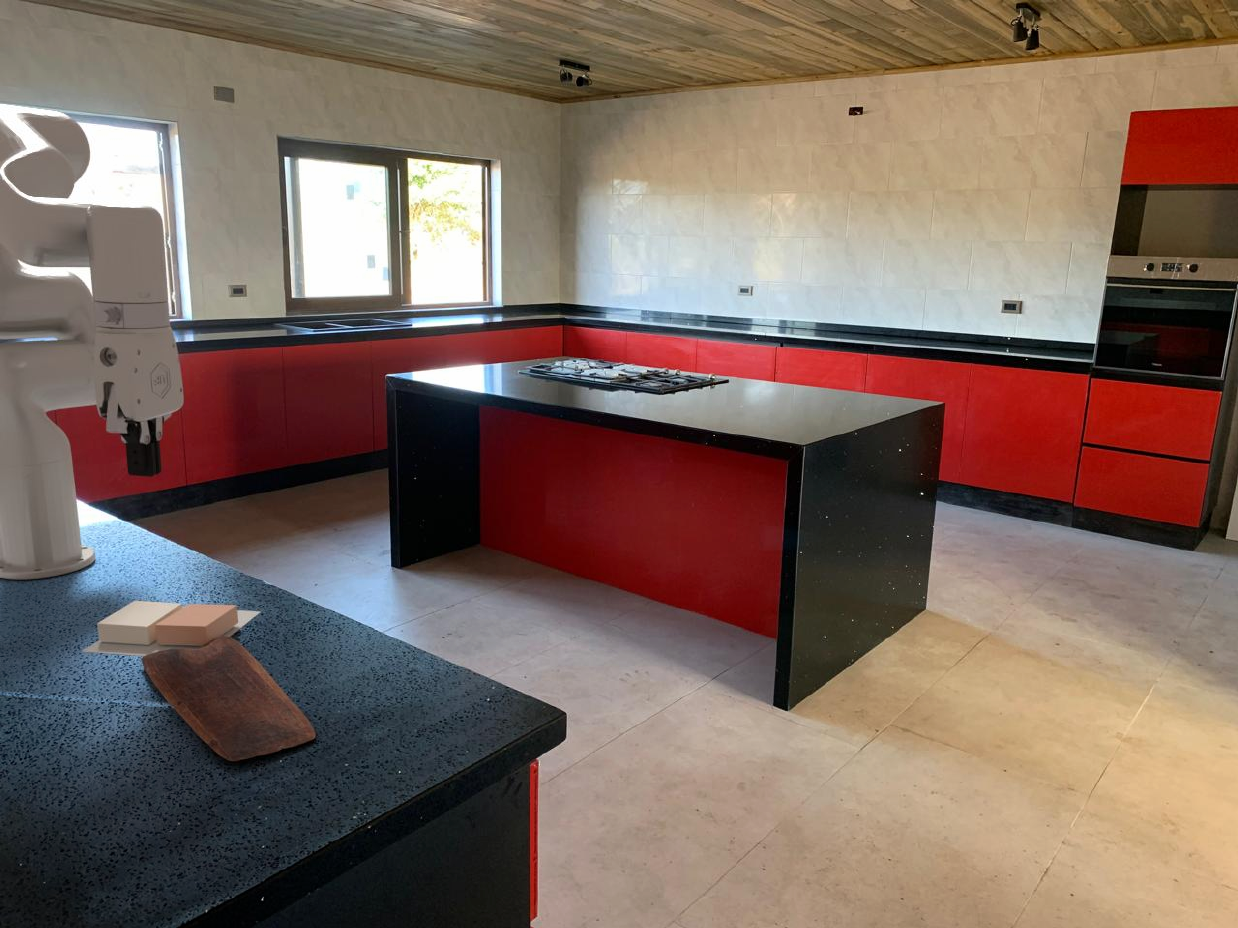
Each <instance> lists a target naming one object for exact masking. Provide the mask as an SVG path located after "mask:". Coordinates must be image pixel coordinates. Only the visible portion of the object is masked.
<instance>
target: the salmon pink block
mask: <svg viewBox="0 0 1238 928" xmlns="http://www.w3.org/2000/svg"><path fill="white" fill-rule="evenodd" d="M183 607H184V608H182V609H180V610H179V611H177V612H175V613H174V614H172V615H171V616H169V617H167V618H166V619H164V620H162V621H161V622H159V623H157V624H156V625H155V630H156V639H157V643H160V644H165V645H196V646H203V645H204V644H206V643H207V642H209V641H211V640H213V639H216V638H218V637H220V636H221V635H223V634H224V633H225V632H227V631H228V630H230V629H231V628H232V627H234V626H235V625H236V624H237V623H238V613H237V610H238V605H236V604H233V605H232V604H201V603H200V604H198V603H194V604H193V603H189V604H187V605H185V606H183Z"/></svg>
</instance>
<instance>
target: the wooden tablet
mask: <svg viewBox="0 0 1238 928" xmlns="http://www.w3.org/2000/svg"><path fill="white" fill-rule="evenodd" d="M140 661H141V663H142V666H143V668H144V670H145V672H146V674H147V675H148V677H149V679H150V680H151V682H152V683H153V685H154V687H156V689H157V690H158V691H159V692H160V694H161V695H162V696H163V697H164V699H165V700H166V702H168V704H170V706H172V708H173V709H174V710H175V711H176V712H177V713H178V714H179V716H180V717H181V718H182V720H184V722H185V723H186V724H187V725H188V726H189V727H190V728H191V729H192V730H193V731H194V732H195V734H197V736H199V737H200V739H201V740H202V741H203V742H204V743H205V744H207V745H208V747H209V748H211V749H212V750H213V751H214V752H215V753H216V754H217V755H218V756H220V757H222V758H224V759H225V760H227V761H231V762H237V761H241V760H246V759H251V758H254V757H256V756H264V755H268V754H273V753H276V752H279V751H281V750H282V749H290V748H293V747H297V746H300V745H303V744H306V743H308V742H309V741H312V740H314V739H316V737H317V735H316V731H315V729H314V728H313V726H312V724H311V722H310V721H309V719H308V718H307V717H306V715H305V714H304V713H303V711H302V710H300V709H299V708H298V706H297V705H296V704H295V703H294V702H293V701H292V700H291V698H289V696H288V695H287V694H286V693H285V692H284V691H283V689H282V688H281V687H280V686H279V685H278V683H276V681H275V680H274V679H273V677H272V676H271V675H270V674H269V672H268V671H267V670H266V669H265V668H264V667H263V666H262V664H261V663H260V662H259V661H258V659H256V658H255V657H254V656H253V655H252V654H251V653H250V652H249V651H248V650H247V649H246V648H245V647H244V645H242V644H241V643H240V642H239V641H238V640H236V639H235V638H233V637H232V636H230V637H228V636H222V637H218V638H216V639H213V640H211V641H209V642H207V643H206V644H204V645H203V646H201V647H200V648H198V649H196V650H191V649H168V650H163V651H158V652H154V653H151V654H148V655H146V656H142V658H141V660H140Z"/></svg>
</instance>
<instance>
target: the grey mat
mask: <svg viewBox="0 0 1238 928" xmlns="http://www.w3.org/2000/svg"><path fill="white" fill-rule="evenodd" d="M184 607H185V606H182V608H184ZM237 613H238V623H237V624H236V625H235V626H234V627H232V628H231V629H230V630H228V631H227V632H225V633H224V634H223V635H221V636H220V637H222V636H228V637H232V636H233V635H234V634H235V633H237V632H238V631H239V630H241V629H242V628H243V627H245V625H246V624H248V623H249V622H250V621H252V620H253V619H254V618H256V617H257V616H258V615H259V614H260V613H261V611H256V610H241V609H237ZM200 647H201V646H196V645H165V644H160V643H157V640H156V641H154V642H153V643H151V644H150V645H149V646H148V645H133V644H118V643H104V642H101V641H99V640H97V641H96V642H94V643H93V644H91V645H89V646H88V647H86V648H85V649H83V650H81V653H90V654H91V653H92V654H104V655H105V654H107V655H108V654H109V655H117V656H118V655H120V656H131V657H132V656H134V657H143V656H146V655H148V654H151V653H154V652H158V651H163V650H168V649H191V650H196V649H198V648H200Z"/></svg>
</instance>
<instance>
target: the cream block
mask: <svg viewBox="0 0 1238 928" xmlns="http://www.w3.org/2000/svg"><path fill="white" fill-rule="evenodd" d="M182 607H183V604H182V603H179V602H177V603H176V602H175V603H173V602H161V601H159V602H158V601H147V600H146V601H145V600H133V601H131V603H129V604H127V605H125V606H124V607H122V608H120V609H119V610H117V611H115V612H114V613H112V614H111V615H109V616H107V617H105V618H104V619H102V620H100V621H99V622H97V623H96V626H97V634H98V636H97V637H98V641H101V642H104V643H118V644H133V645H148V646H149V645H150V644H151V643H153V642H154V641H156V640H157V639H156V630H155V625H156V624H157V623H159V622H161V621H162V620H164V619H166V618H167V617H169V616H171V615H172V614H174V613H175V612H177V611H179V610H180V609H182Z"/></svg>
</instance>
